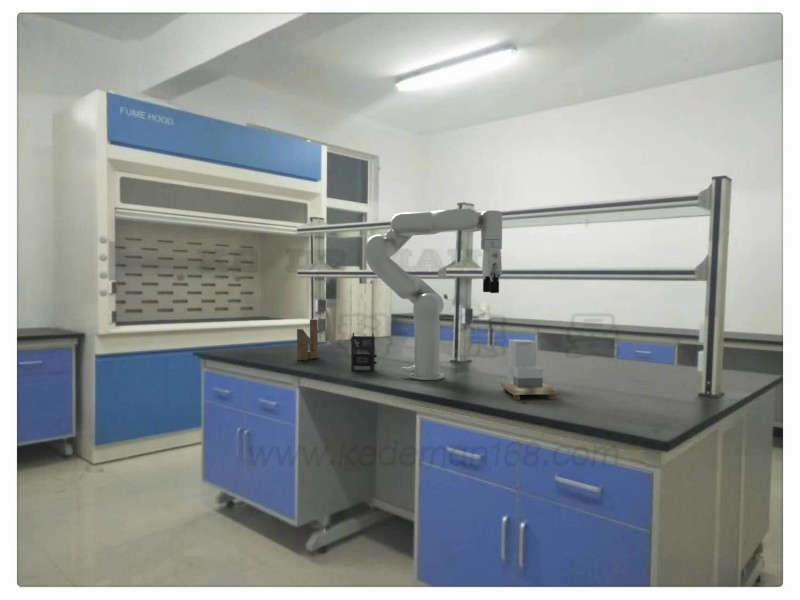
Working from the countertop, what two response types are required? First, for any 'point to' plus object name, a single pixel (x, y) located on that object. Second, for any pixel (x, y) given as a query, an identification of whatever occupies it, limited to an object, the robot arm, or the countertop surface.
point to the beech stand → (528, 390)
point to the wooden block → (308, 342)
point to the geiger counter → (363, 353)
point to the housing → (527, 376)
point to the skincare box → (520, 355)
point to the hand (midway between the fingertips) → (490, 292)
